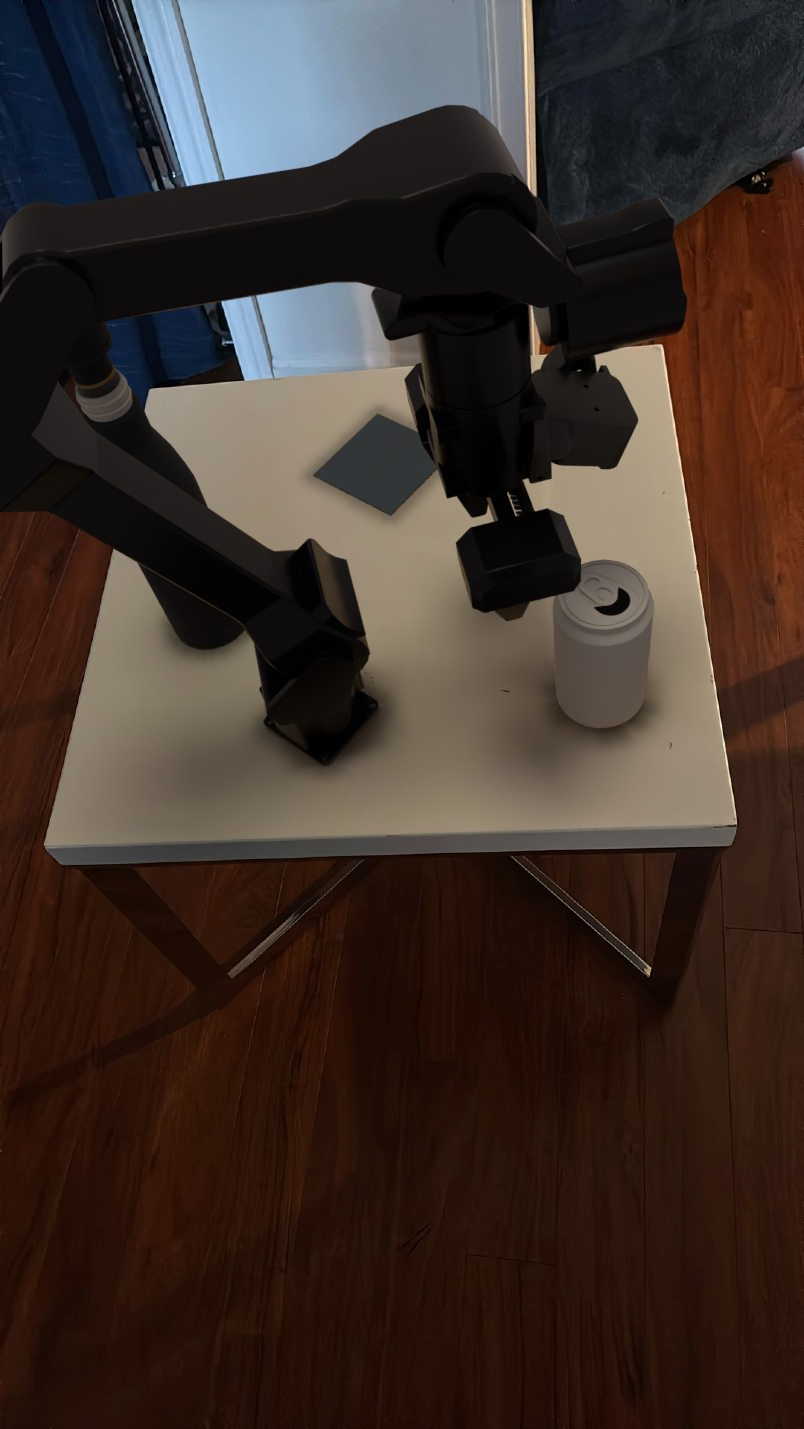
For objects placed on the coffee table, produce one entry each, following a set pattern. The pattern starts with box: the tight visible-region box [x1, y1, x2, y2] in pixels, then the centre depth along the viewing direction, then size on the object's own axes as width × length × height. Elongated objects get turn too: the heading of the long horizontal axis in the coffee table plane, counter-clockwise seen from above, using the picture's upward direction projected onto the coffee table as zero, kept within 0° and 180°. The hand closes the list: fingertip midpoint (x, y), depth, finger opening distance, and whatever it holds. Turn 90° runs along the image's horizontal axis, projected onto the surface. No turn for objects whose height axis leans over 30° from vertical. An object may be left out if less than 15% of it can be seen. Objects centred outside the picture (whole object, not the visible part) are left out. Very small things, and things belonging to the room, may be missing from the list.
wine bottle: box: [63, 322, 245, 650], centre depth 72 cm, size 6×6×30 cm
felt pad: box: [312, 413, 438, 516], centre depth 92 cm, size 9×9×1 cm
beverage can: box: [552, 559, 655, 729], centre depth 71 cm, size 6×6×12 cm
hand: (495, 564), depth 68 cm, fingers open, 9 cm apart
